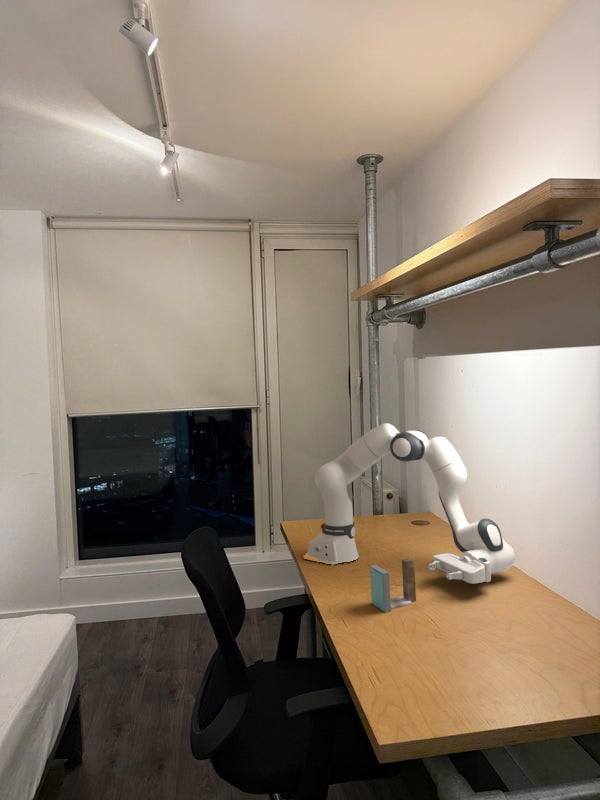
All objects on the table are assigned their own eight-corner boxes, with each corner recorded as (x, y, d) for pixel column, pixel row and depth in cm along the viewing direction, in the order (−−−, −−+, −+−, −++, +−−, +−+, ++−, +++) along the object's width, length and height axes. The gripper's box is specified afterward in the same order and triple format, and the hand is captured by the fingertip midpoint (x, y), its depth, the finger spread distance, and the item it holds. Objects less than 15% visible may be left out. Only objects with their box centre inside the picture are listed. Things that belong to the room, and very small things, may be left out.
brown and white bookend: (408, 596, 182) (406, 556, 182) (418, 602, 177) (416, 561, 176) (382, 602, 178) (380, 562, 178) (391, 609, 173) (389, 567, 173)
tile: (377, 602, 179) (375, 564, 178) (390, 611, 172) (388, 572, 171) (371, 603, 178) (369, 566, 178) (384, 612, 171) (382, 573, 170)
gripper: (452, 546, 198) (419, 553, 193) (493, 563, 179) (458, 571, 174) (453, 564, 198) (420, 571, 193) (494, 583, 179) (458, 591, 174)
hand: (438, 571), depth 183 cm, fingers open, 8 cm apart
